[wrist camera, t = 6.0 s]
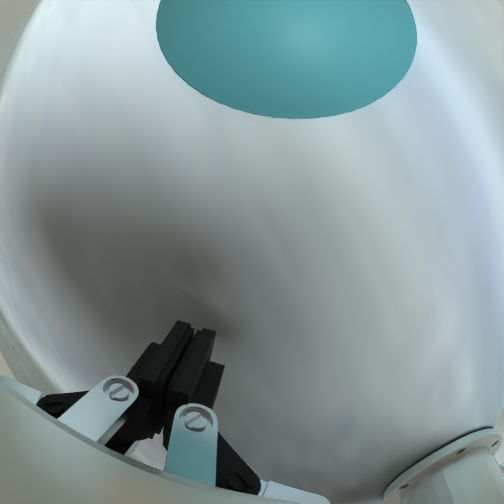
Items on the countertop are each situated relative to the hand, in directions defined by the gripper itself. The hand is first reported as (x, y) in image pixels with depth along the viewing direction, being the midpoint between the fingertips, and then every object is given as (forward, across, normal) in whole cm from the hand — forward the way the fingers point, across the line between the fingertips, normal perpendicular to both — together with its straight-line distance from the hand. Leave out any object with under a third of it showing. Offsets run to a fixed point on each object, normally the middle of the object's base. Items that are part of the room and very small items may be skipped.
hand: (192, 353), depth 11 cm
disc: (+2, 0, -16) cm, 16 cm away
